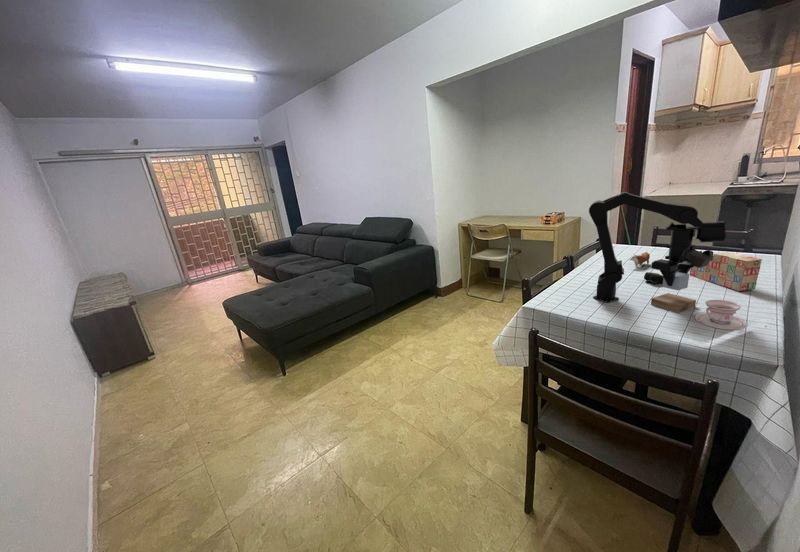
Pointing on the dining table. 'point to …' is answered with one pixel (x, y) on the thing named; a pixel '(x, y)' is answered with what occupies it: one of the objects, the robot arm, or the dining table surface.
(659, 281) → the tape measure
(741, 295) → the dining table surface
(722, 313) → the teacup
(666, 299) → the walnut block
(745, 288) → the stack of blocks
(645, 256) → the bull figurine
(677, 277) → the slate cube
